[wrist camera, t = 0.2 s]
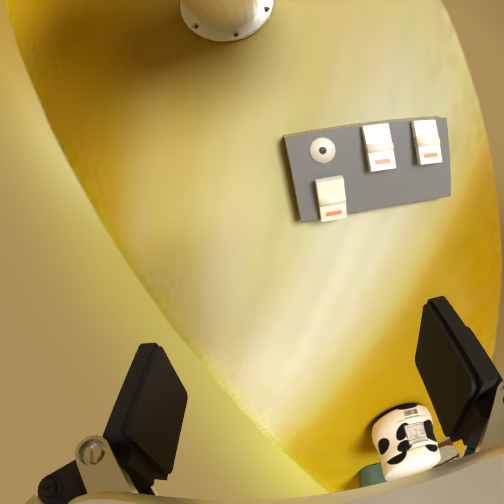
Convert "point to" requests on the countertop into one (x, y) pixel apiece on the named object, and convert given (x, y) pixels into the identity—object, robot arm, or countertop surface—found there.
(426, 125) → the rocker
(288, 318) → the countertop surface
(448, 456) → the food container
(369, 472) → the flower pot
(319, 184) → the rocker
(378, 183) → the switch panel
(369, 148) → the rocker mid
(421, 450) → the milk container
